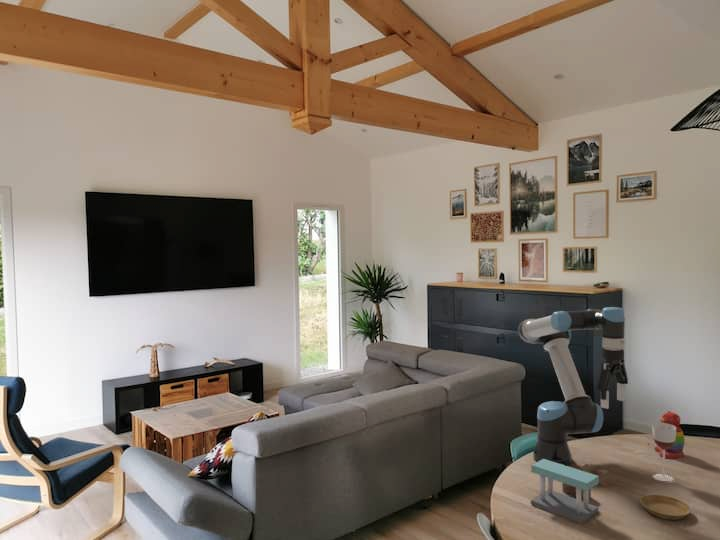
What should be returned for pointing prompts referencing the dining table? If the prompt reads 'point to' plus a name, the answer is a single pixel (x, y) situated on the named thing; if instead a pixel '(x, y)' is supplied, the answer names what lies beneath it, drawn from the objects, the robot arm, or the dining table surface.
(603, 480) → the blocks
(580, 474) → the shelf board
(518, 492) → the dining table surface
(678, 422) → the stacking bear
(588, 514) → the peg stand
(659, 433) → the wineglass
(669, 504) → the plant saucer
